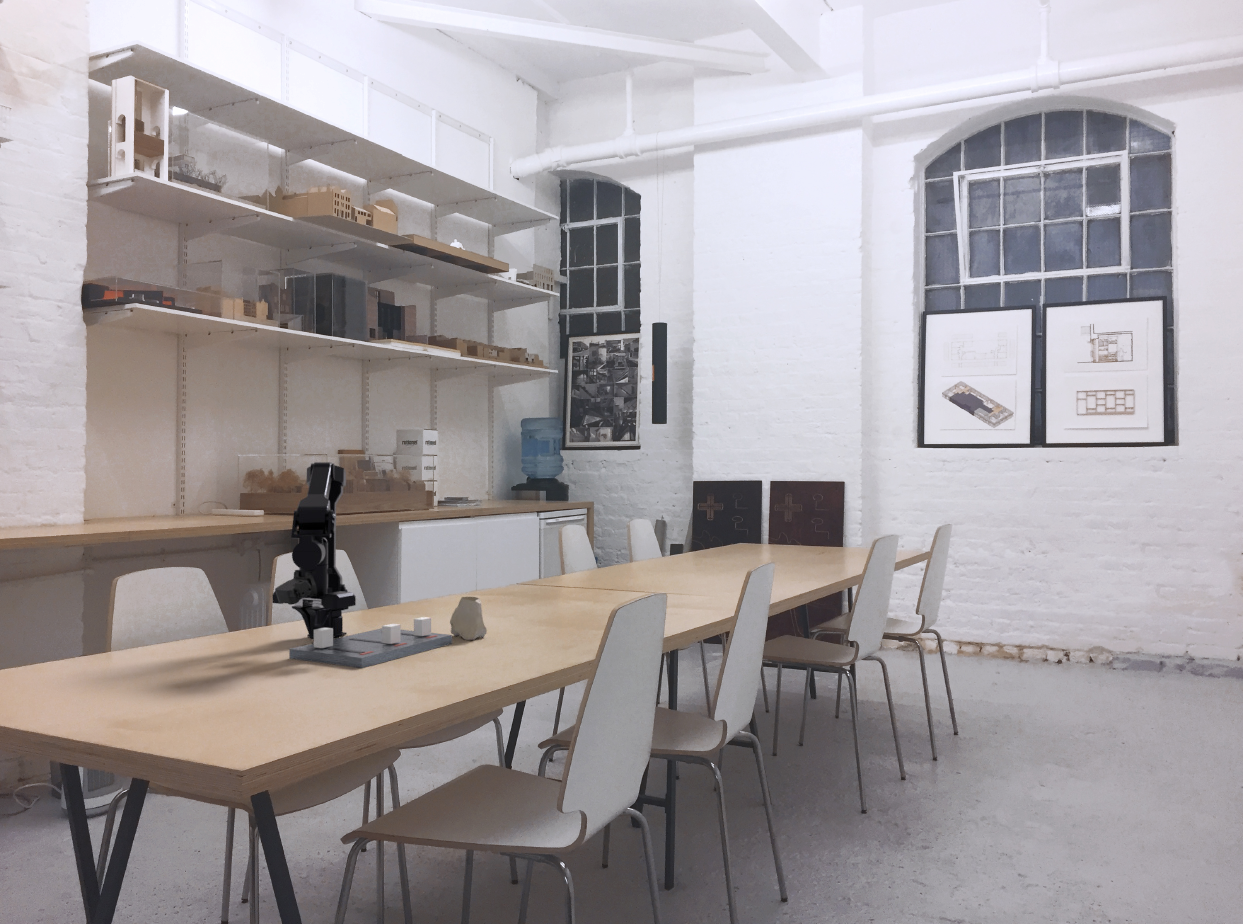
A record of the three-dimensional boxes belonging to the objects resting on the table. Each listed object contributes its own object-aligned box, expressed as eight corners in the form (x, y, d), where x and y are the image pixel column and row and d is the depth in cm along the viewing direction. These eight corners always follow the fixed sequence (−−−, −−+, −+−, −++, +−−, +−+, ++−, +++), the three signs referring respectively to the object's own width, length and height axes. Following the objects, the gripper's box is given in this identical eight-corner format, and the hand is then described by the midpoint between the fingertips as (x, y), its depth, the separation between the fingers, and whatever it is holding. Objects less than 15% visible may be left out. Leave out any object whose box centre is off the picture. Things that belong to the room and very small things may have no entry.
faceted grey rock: (486, 646, 215) (498, 604, 218) (470, 639, 208) (483, 597, 211) (453, 639, 218) (466, 598, 221) (437, 632, 212) (451, 590, 215)
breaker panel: (289, 658, 192) (289, 648, 192) (383, 636, 216) (383, 627, 216) (361, 668, 182) (361, 657, 182) (451, 643, 207) (451, 634, 207)
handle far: (413, 635, 205) (413, 618, 205) (422, 632, 208) (422, 616, 208) (422, 636, 204) (422, 619, 204) (431, 633, 206) (431, 617, 206)
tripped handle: (313, 646, 192) (313, 629, 192) (324, 644, 194) (324, 627, 194) (322, 648, 191) (322, 630, 191) (333, 645, 193) (333, 628, 193)
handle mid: (382, 642, 196) (382, 625, 196) (391, 640, 199) (391, 623, 199) (390, 643, 195) (390, 626, 195) (400, 641, 198) (400, 624, 198)
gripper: (251, 565, 191) (251, 641, 191) (316, 570, 182) (316, 649, 182) (293, 561, 201) (293, 633, 201) (357, 565, 192) (357, 640, 192)
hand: (313, 639), depth 194 cm, fingers closed
